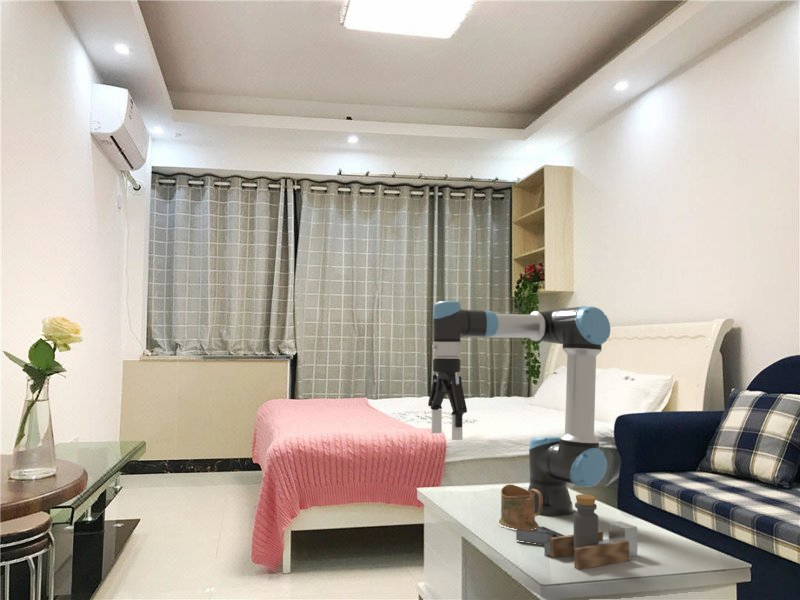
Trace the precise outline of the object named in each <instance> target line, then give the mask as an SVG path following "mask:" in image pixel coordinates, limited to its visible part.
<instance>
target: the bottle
mask: <svg viewBox="0 0 800 600" xmlns="http://www.w3.org/2000/svg"><path fill="white" fill-rule="evenodd" d="M575 501H576V502H575V503H574V507H575V509H577V511H575V512H574V513H573V534H574V548H579V547H585V546H592V545H598V544H599V533H598V531H599V514H597V513H596V512H595V511H596V510H597V504H596V497H595V496H594V495H591V494H583V493H582V494H576V495H575Z"/></svg>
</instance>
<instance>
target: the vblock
mask: <svg viewBox="0 0 800 600" xmlns="http://www.w3.org/2000/svg"><path fill="white" fill-rule="evenodd" d="M515 533H516V534H515V537H516V538H515V540H519V541H524V542H530V543H536V544H535V545H538V544H541V545H540V546H544V548H543V549H544V550H543V551H544V556H545V555H548V556H547V557H550V538H552V537H559V536H566V535H565V534H562V533H560V532H557V531H555V530H553V529H550V528H548V527H546V526H538V528H537V530H522V529H517V530H516V531H515Z"/></svg>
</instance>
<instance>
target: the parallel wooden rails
mask: <svg viewBox="0 0 800 600" xmlns="http://www.w3.org/2000/svg"><path fill="white" fill-rule="evenodd" d="M598 533H599V540H604V531H601V530H598ZM550 556H551V557H550ZM550 556H549V557H550V558H552V557H553V559H555V557H556V558H560V557H562V558H563V557H568V556H573V559H574V560H573V563H574V567H573V568H574V569H576V570H583V569H589V568H594V567H595V568H596V567H601V566H606V565H607V566H608V565H612V564H618V563H623V562H629V561H630V557H629V541H626V540H624V541H618V542H611V543H605V544H598V545H592V546H585V547H579V548H574V533H573V534H568V535H567V534H566V535H565V536H559V537H552V538H550Z"/></svg>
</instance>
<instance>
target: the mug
mask: <svg viewBox="0 0 800 600" xmlns="http://www.w3.org/2000/svg"><path fill="white" fill-rule="evenodd" d="M534 492H536V493H537V494H538V496H539V509H538V512H537V513H535V497H534V496H535V494H534ZM500 495H501V496H500V497H501V501H500V503H501V505H500V506H501V508H500V513H501V514H500V519H499V520H498V521H499V523H500V524H501V525H503V526H506V527H509V528H514V529H522V530H531V529H535V528H537V527H539V524H538V522H537V521H536V517H537V516H540V515H542V514H541V512H542V508H543V497H542V494H541V493H540V492H539V491H538V490H536V489H531V492H529V491H528V489H526V488H524V487H520V486H518V485H515V484H505V485H503V487H502V488H501V491H500ZM537 529H538V528H537ZM535 530H536V529H535ZM531 531H532V530H531Z"/></svg>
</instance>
